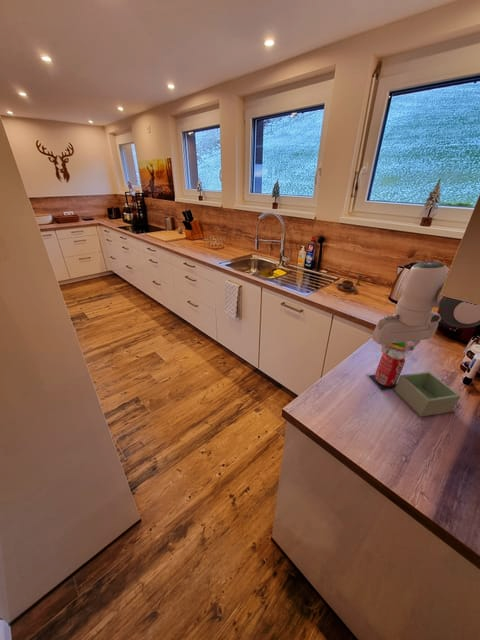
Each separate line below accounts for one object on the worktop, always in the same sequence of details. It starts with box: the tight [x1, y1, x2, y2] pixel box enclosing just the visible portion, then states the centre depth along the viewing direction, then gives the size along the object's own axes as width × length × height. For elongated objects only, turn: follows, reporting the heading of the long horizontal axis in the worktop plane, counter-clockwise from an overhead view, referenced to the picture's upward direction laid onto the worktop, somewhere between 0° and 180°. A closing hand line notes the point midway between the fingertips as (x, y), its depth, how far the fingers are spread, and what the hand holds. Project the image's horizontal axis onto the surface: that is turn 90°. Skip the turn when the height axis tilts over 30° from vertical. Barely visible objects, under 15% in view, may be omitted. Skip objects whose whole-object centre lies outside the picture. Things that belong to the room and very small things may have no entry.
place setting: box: [334, 275, 362, 295], centre depth 170 cm, size 18×20×6 cm
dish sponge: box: [387, 342, 406, 351], centre depth 117 cm, size 7×14×2 cm, turn 152°
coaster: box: [368, 374, 397, 391], centre depth 93 cm, size 7×7×1 cm
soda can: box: [374, 348, 406, 386], centre depth 90 cm, size 7×7×12 cm
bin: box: [393, 370, 462, 417], centre depth 85 cm, size 12×12×7 cm
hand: (397, 351), depth 87 cm, fingers open, 8 cm apart
